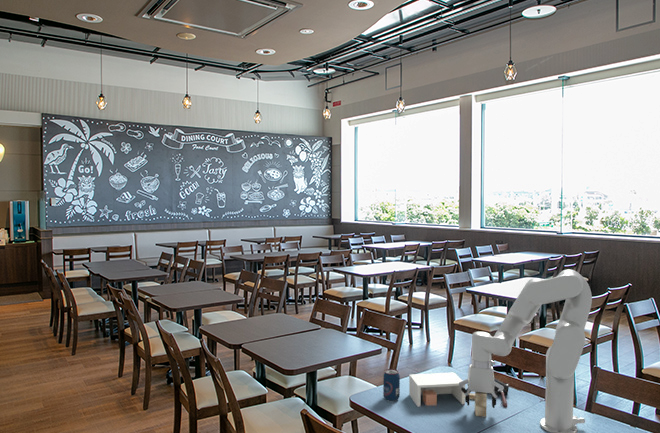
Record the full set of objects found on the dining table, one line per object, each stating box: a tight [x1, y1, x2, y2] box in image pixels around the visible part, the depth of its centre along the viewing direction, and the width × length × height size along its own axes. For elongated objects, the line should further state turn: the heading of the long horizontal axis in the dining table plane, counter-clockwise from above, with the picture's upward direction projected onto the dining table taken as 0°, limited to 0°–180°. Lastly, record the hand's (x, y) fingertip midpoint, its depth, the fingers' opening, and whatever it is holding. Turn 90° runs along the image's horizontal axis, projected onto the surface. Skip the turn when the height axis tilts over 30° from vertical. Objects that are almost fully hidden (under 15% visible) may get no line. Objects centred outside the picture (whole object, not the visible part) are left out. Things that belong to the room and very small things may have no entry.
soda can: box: [382, 368, 401, 402], centre depth 206 cm, size 7×7×12 cm
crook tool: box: [465, 392, 488, 417], centre depth 199 cm, size 7×17×9 cm, turn 167°
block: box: [422, 390, 438, 406], centre depth 203 cm, size 4×4×4 cm
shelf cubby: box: [408, 371, 466, 408], centre depth 206 cm, size 20×12×9 cm, turn 97°
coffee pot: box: [494, 377, 510, 408], centre depth 208 cm, size 8×18×8 cm
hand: (480, 405), depth 193 cm, fingers open, 9 cm apart
